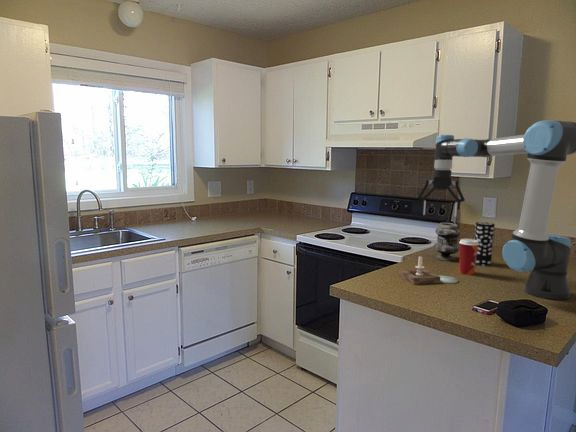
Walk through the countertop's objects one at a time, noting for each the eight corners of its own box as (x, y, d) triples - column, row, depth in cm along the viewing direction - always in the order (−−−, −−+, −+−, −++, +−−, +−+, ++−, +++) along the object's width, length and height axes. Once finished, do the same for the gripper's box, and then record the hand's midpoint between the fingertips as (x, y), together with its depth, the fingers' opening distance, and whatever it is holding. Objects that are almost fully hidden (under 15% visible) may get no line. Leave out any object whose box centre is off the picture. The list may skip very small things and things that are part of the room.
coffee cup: (478, 276, 182) (481, 242, 180) (458, 274, 184) (461, 241, 182) (474, 270, 190) (476, 238, 188) (455, 269, 192) (457, 237, 190)
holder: (439, 282, 172) (440, 276, 171) (413, 284, 169) (413, 278, 169) (424, 274, 183) (424, 269, 183) (399, 275, 181) (399, 270, 180)
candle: (425, 278, 178) (426, 254, 176) (425, 281, 173) (427, 257, 171) (412, 277, 179) (414, 253, 178) (412, 280, 174) (414, 256, 173)
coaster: (462, 282, 172) (462, 281, 172) (443, 283, 170) (443, 282, 170) (449, 276, 181) (449, 275, 181) (430, 277, 179) (431, 276, 179)
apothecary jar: (460, 262, 205) (463, 226, 203) (435, 260, 207) (438, 225, 205) (455, 256, 217) (457, 222, 215) (431, 255, 219) (433, 221, 216)
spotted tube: (474, 265, 201) (477, 224, 198) (470, 260, 208) (474, 221, 206) (492, 266, 199) (496, 225, 196) (488, 262, 207) (492, 222, 204)
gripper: (471, 170, 188) (468, 216, 192) (414, 168, 197) (412, 212, 200) (473, 170, 181) (469, 218, 185) (413, 168, 190) (411, 214, 193)
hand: (439, 215), depth 192 cm, fingers open, 13 cm apart
